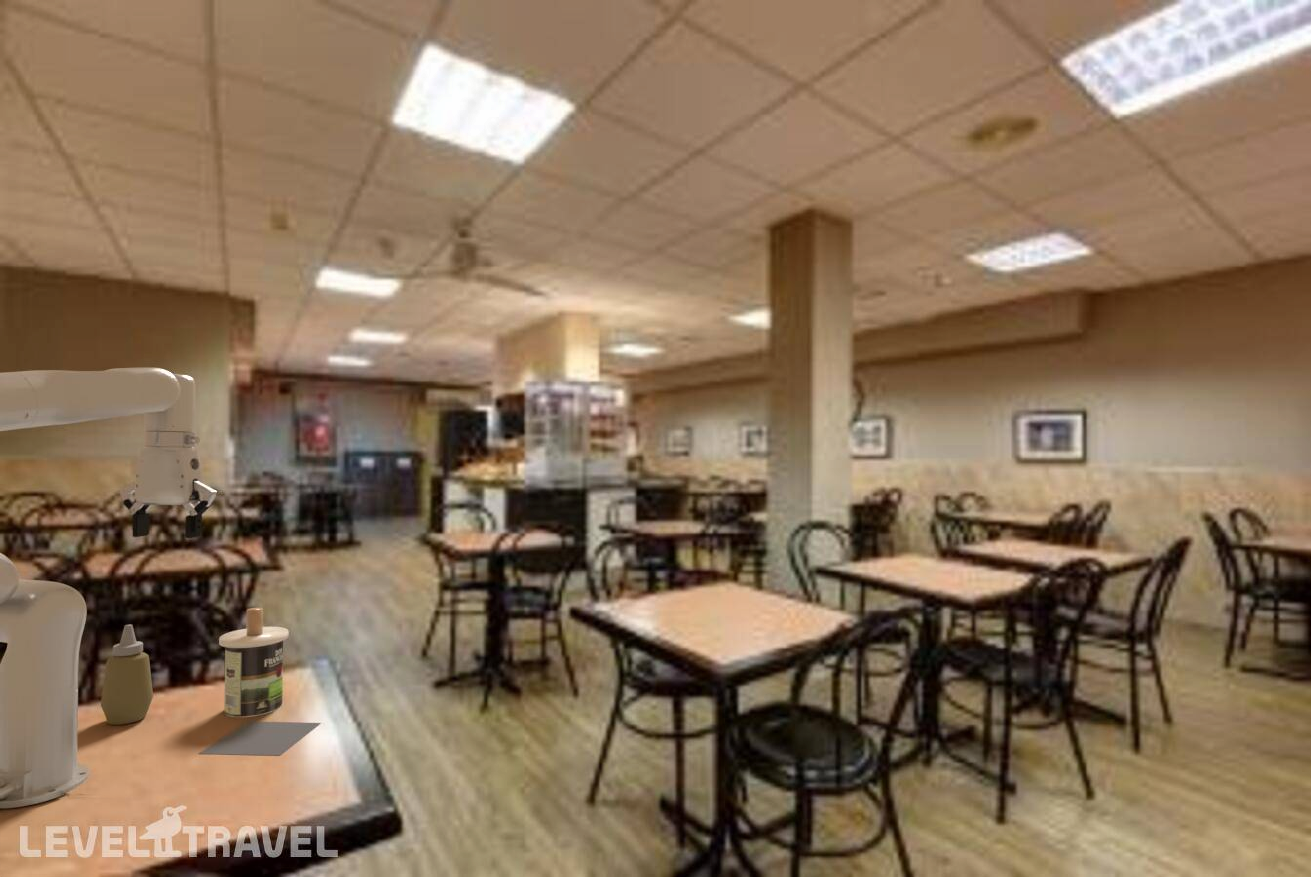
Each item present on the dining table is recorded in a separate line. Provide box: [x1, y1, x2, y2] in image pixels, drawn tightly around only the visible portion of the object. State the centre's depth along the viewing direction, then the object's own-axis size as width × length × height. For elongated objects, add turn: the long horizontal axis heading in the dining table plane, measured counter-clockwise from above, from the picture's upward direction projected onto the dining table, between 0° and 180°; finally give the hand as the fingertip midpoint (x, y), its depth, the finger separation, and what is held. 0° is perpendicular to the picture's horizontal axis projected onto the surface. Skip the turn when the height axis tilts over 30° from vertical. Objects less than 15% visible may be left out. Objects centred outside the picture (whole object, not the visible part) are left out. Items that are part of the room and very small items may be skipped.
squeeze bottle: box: [100, 624, 154, 726], centre depth 137 cm, size 8×8×18 cm
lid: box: [218, 607, 290, 648], centre depth 143 cm, size 12×12×6 cm
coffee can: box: [224, 640, 285, 718], centre depth 143 cm, size 10×10×14 cm
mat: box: [198, 720, 322, 757], centre depth 128 cm, size 14×14×1 cm
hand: (166, 536), depth 130 cm, fingers open, 9 cm apart
